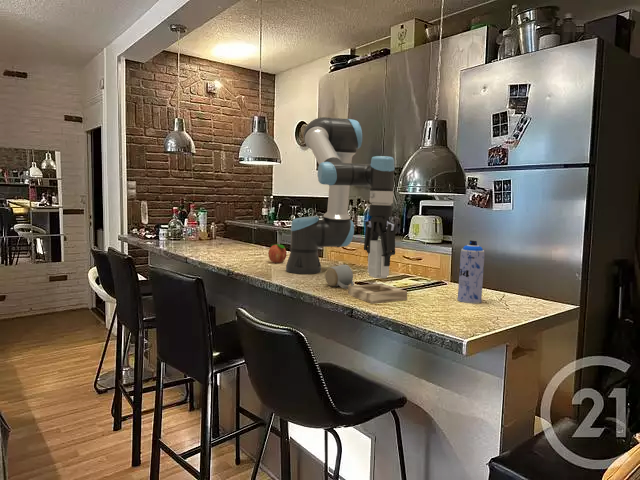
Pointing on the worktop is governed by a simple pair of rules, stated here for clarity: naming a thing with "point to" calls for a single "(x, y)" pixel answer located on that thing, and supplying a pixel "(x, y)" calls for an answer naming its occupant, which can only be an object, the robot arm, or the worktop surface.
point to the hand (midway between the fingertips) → (377, 274)
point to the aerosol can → (471, 273)
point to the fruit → (277, 253)
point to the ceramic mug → (339, 276)
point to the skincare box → (375, 259)
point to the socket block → (377, 293)
